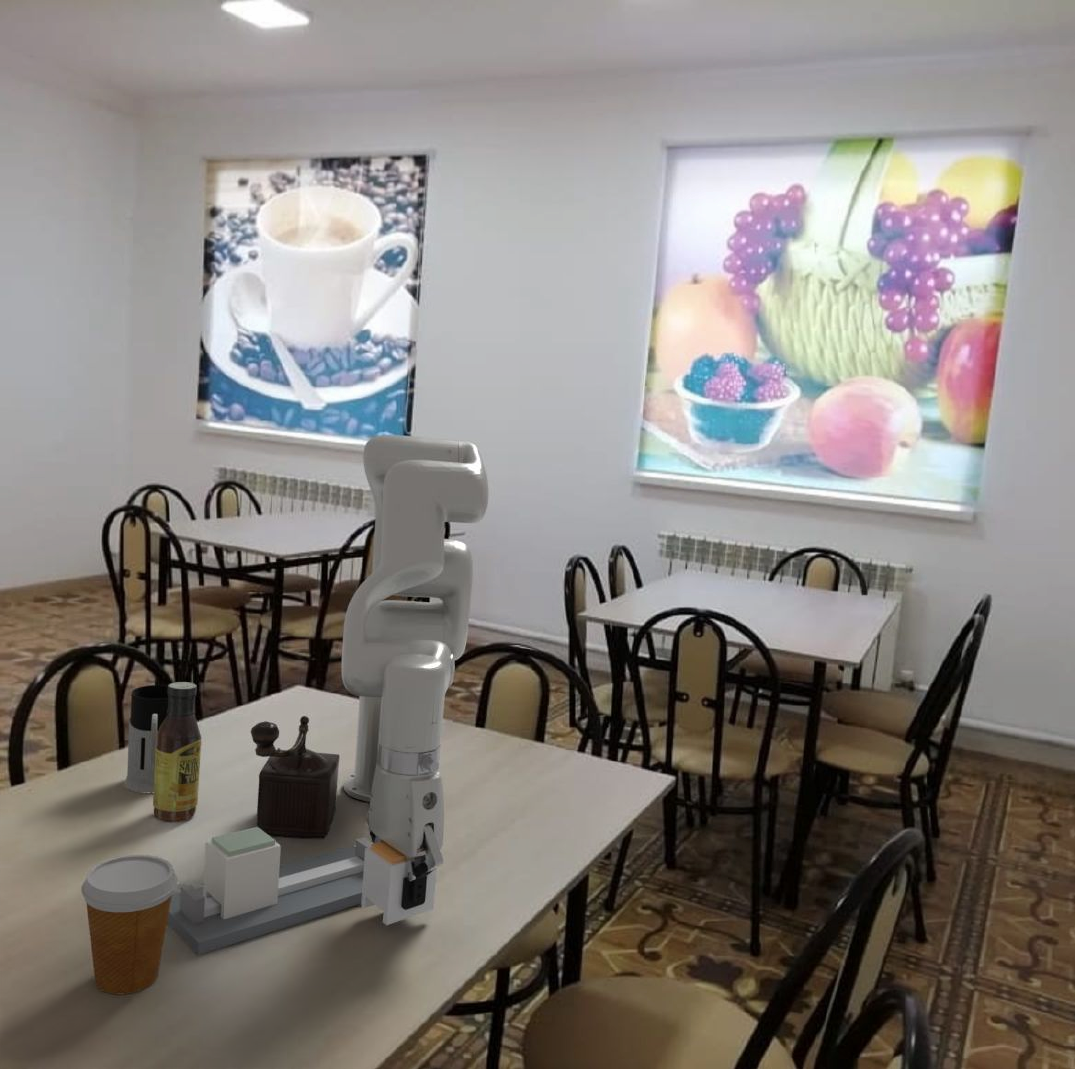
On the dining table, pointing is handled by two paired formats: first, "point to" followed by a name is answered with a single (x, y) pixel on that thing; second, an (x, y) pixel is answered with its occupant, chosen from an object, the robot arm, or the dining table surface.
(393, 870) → the module
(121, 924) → the disposable coffee cup
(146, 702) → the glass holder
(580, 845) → the dining table surface
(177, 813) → the sauce bottle
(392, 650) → the robot arm
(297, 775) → the pepper mill
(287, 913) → the rail board
